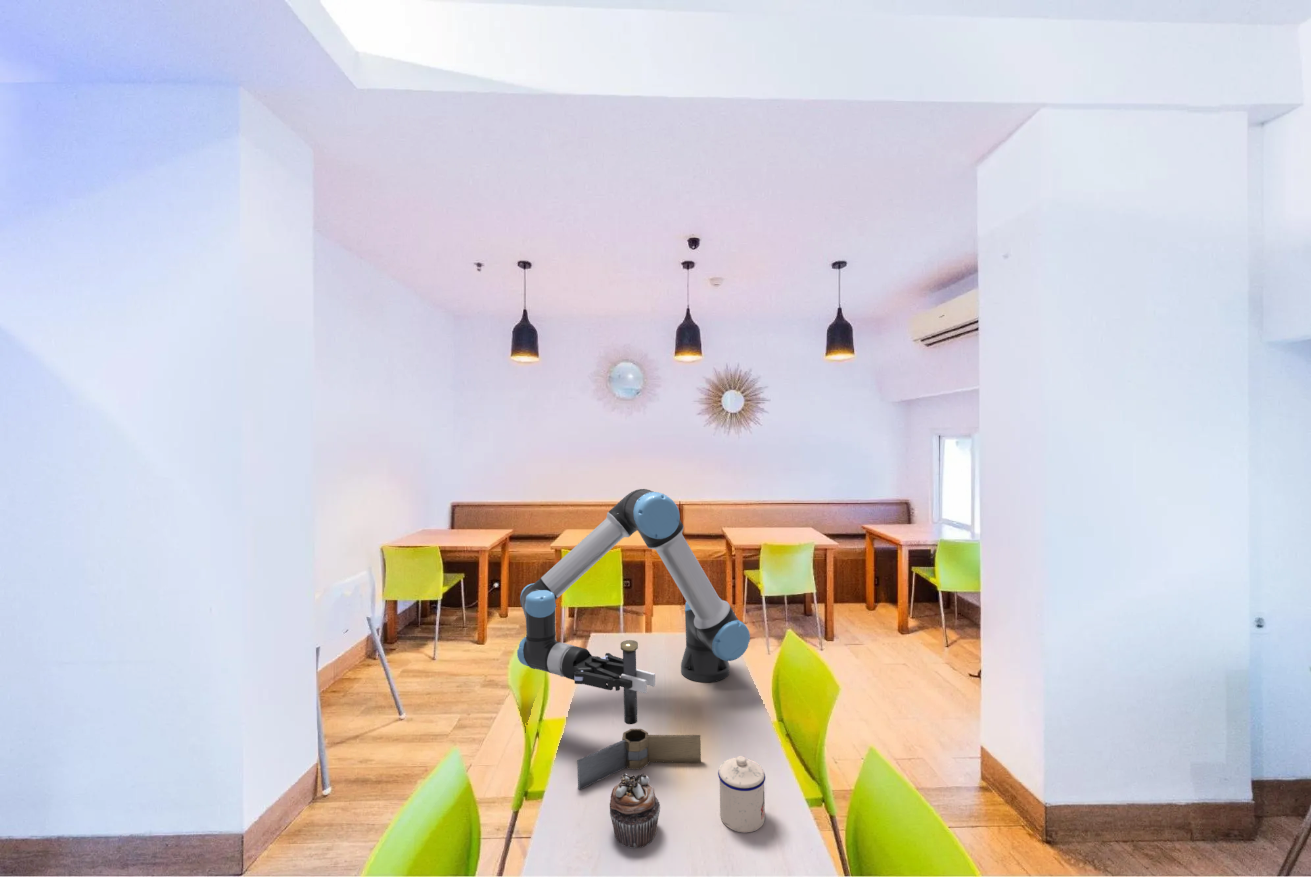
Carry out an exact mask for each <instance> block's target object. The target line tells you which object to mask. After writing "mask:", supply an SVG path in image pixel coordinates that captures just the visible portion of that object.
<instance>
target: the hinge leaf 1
mask: <svg viewBox="0 0 1311 877" xmlns="http://www.w3.org/2000/svg"><path fill="white" fill-rule="evenodd" d="M641 740H643V739H641V738H632V739H630V740H629V741H630V742H639V741H641ZM647 756H648V747H647V748H645V749H643V750H642V751H640V752H635V751H628V750H626V741H625V739H624V740H622V739H621V740H620V741H617V742H615V743H613V744H611V745H609V746H605V747H604V748H602V749H600V750H597V751H595V752H593V753H591V754H588V755H586V756H584V757H581V758H580V759H577V762H576V763H577V768H576V769H577V788H578V789H579V790H582V789H584V788H586V787H588V786H590V785H592V784H594V783H596V782H598V781H600V780H602V779H605V778H606V777H609V776H611V775H613V774H615V773H617V772H620V771H622V770H623V769H625V768H626V769H627V762H626V759H628V760H637V761H639V760H641V759H643V758H645V757H647ZM581 788H582V789H581Z"/></svg>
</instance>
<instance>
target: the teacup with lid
mask: <svg viewBox="0 0 1311 877" xmlns="http://www.w3.org/2000/svg"><path fill="white" fill-rule="evenodd" d="M717 776H718V778H719V816H720V820H722V823H723V824H724V825H725V826H726V827H728V828H729V829H730V830H733V831H734V832H739V833H752V832H755V831H756V832H757V830H759V829H760V828H762V826H763V825H764V823H765V819H766V813H765V812H766V808H765V782H766V774H765V770H764V768H763V767H762V766H761V764H759V763H758V762H756V761H754V760H752V759H749V758H747V757H745V756H743V755H738V756H737V757H732V758H728V759H727V760H725V761H723V762H722V763H721V764H720V766H719V768H718V772H717Z"/></svg>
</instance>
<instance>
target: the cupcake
mask: <svg viewBox="0 0 1311 877" xmlns="http://www.w3.org/2000/svg"><path fill="white" fill-rule="evenodd" d="M609 801H610V802H609V815H610V820H611V824H612V827H613V832H614V837H615V838H616V841H617V842H618V843H620V845H622V846H624V847H627V848H633V849H637V848H638V849H640V848H641V847H642V846H643V847H645V846H647V845H649V844H650V843H651V842H653V841H652V840H654V838H656V834H657V828H658V822H659V817H660V811H661V803H660V801H659V799H658V798H657V796H656V793H655V789H654V788H653V786H652V785H651V784H650V778H649V776H647V775H646V774H645V773H643V772H642V773H640V774H638V775H634V774H633V775H631V776H630V775H629V774H627V773H626V772H625V771H624V772H623V773H622V774H621V776H620V782H618V783H617V784H616V785H615V786H614V787H613V788H612V790H611V794H610V800H609Z"/></svg>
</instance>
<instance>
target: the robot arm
mask: <svg viewBox="0 0 1311 877" xmlns="http://www.w3.org/2000/svg"><path fill="white" fill-rule="evenodd" d="M680 516H681V514H680V510H679V507H678V506H677V504H676V502H675V501H674V500H673V499H672V498H670V497H669V495H666V494H664V493H661V492H657V491H653V490H650V489H647V488H638V489H636V490H633V491H631V492H629V493H628V494H626V495H625V496H624V497H623V498H622V499H620V501H619V502H618V503H616V504H615V505H614V506H613V507H612V508H611V509H610V510H609V511H607V513H606V517H605V519H604V520H602V522H601V523H600V524H598V525H597V526H596V527H595V528H594V529H593V530H592V531H591V532H589V533H588V534H587V535H586V536H585V537H584V538H583V539H582V540H581V541H580V542H578V544H576V545H575V546H574V547H573V548H572V549H571V550H570V551H569V552H568V553H566V554H565V555H564V556H563V557H562V558H560V560H559V561H558V562H557V563H556V564H554V565H553V567H551V568H550V569H549V570H548V571H547V572H545V573H544V574H543V575H542V576H541V577H540V578H539V579H538V580H536V581H535V582H534V583H530V584H527V585H526V586H525V587H523V589H522V590H521V593H520V597H519V599H520V600H519V601H520V606H521V609H522V611H523V615H524V617H525V618H524V619H525V627H526V628H525V630H526V635H525V636H524V637H523V638H522V639H521V641H520V642H519V644H518V649H517V650H516V651H517V652H516V654H517V655H516V656H517V659H518V661H519V662H520V663H521V664H522V665H524V666H527V667H529V668H530V669H533V670H537V671H538V670H539V671H543V672H546V673H550V674H553V675H555V676H559V677H561V678H566V679H568V680H573V681H574V684H575V685H585V686H590V687H594V688H598V689H603V690H607V691H612V690H615V692H616V691H617V692H619V691H620V690H621V688H623V689H624V688H627V689H631V690H634V691H637V693H638V692H639V693H642V694H647V693H648V691H647V690H648V687H647V686H649V687H656V673H654V672H650V671H647V670H643V669H638V668H636V677H633V676H630V675H626V674H623V657H622V658H621V657H618V656H615V655H613V654H611V653H610V652H606V653H605V654H604V655H605V656H604V657H601V656H596V655H595V656H594V655H592V653H590V651H589V650H588V648H585V647H581V646H580V647H579V646H575V645H572V644H568V643H564V642H560V641H557V632H556V631H557V630H556V629H557V628H556V624H557V623H556V608H557V605H556V604H557V603H556V601H557V600H558V599H559V598H560V597H561V596H562V594H564V593H566V591H568V589H570V587H572V585H574V584H575V583H576V582H577V581H578V580H579V579H580V578H581V577H582V576H584V574H586V573H587V572H588V571H589V570H590V569H591V568H592V567H593V566H594V565H595V564H596V563H597V562H598V561H600V560H601V559H602V558H603V557H604V556H605V555H606V554H608V552H609V551H611V550H612V549H613V548H614V547H615V546H616V545H617V544H618V543H619V542H620V541H621V540H623V539H624V538H629V537H631V535H633V534H635V532H638V534H639V535H640V537H641V538H642V540H643V541H644V543H645V545H646V547H647V548H648V549H649V550H654V551H656V553H657V554H658V556H659V557H660V559H661V561H662V563H663V564H664V566H665V568H666V570H667V572H668V573H669V574H670V576H671V578H672V580H673V581H674V583H675V584H676V586H677V588H678V590H679V591H680V593H681V595H682V596H683V598H684V600H685V601H686V602H685V605H684V614H685V616H684V618H685V620H684V621H685V648H684V652H683V655H682V659H681V662H680V673H681V675H683V677H684V678H687V679H688V680H691V681H693V682H694V681H695V682H701V683H711V682H712V683H713V682H717V681H721V680H723V679H726V678H727V677H728V676H729V675H730V663H729V662H732V661H736V660H737V659H739V658H740V657H741V658H742V656H743V655H744V654H745V653H746V651H747V650H748V648H749V643H750V641H751V633H750V630H749V628H748V626H747V625H746V624H745V623H744V622H743V621H741V620H739V619H738V617H737V615H736V613H735V611H734V610H733V609H732V606H731V605H730V603H729V602H728V601H727V600H723V599H722V598H720V597H719V595H718V593H717V592H716V590H715V588H714V587H713V584H712V583H711V581H710V579H709V578H708V576H707V573H705V571H704V569H703V568H702V566H701V564H700V562H699V560H698V559H697V557H696V555H695V554H694V552H693V550H692V549H691V547H690V544H688V542H687V540H686V539H685V537H684V534H683V531H684V524H683V522H682V521H681V518H680ZM614 688H615V689H614Z"/></svg>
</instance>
